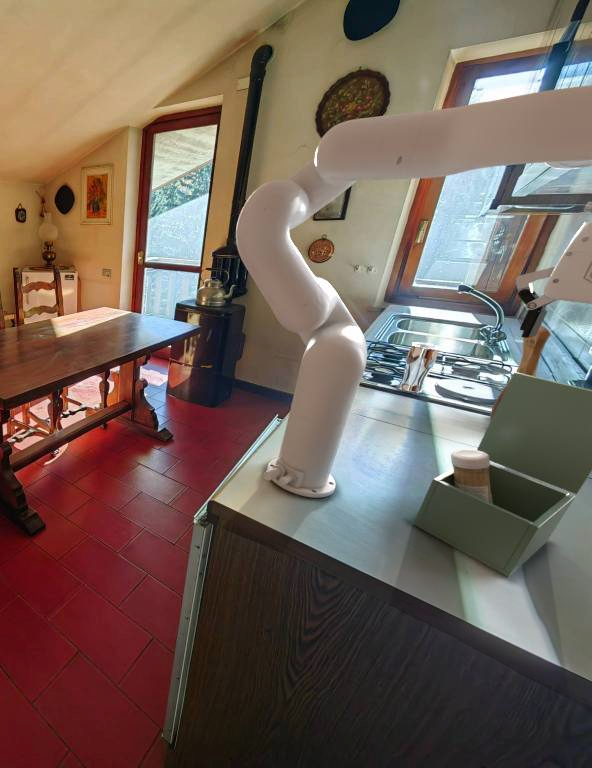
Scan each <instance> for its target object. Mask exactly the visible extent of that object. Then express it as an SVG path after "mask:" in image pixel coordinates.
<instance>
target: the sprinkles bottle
mask: <svg viewBox="0 0 592 768" xmlns="http://www.w3.org/2000/svg"><path fill="white" fill-rule="evenodd" d="M450 462H451V465H452V469H453V468H454V478H455V479H454V483H455V487H456V488H458V489H461V490H463V491H465V492H467V493H469V494H472V495H474V496H476V497H478V498H480V499H483V500H485V501H487V502H489V503H491V504H492V494H491V488H490V479H489V470H488V469H489V466H490V463H491V461H489V456H488V454H486V453H485V452H482V451H478V450H477V449H457V450H454V451H452V452H451V453H450Z"/></svg>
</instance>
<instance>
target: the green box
mask: <svg viewBox="0 0 592 768" xmlns="http://www.w3.org/2000/svg"><path fill="white" fill-rule="evenodd" d="M488 470H489V479H490V488H491V494H492V504H491V503H489V502H487V501H485V500H483V499H480V498H478V497H476V496H474V495H472V494H469V493H467V492H465V491H463V490H461V489H458V488H456V487H455V483H454V479H455V478H454V468H453V467H452V468H451V469H449V470H447V471H445V472H443V473H442V474H440V475H438V476H436V477H435V478H433V479H432V480H431V482H430V485H429V487H428V490H427V491H426V494H425V495H424V498H423V501H422V503H421V505H420V506H419V509H418V512H417V513H416V516H415V518H414V521H413V522H412V525H414V526H416V527H417V528H419V529H421V530H423V531H424V532H426V533H428V534H430V535H431V536H433V537H435V538H437V539H438V540H439V541H440V540H441V541H442V542H444V543H446V544H448V545H450V546H451V547H453V548H455V549H457V550H458V551H460V552H462V553H464V554H466V555H467V556H469V557H471V558H473V559H475V560H476V561H478V562H479V563H481V564H483V565H485V566H487V567H489V568H490V569H492V570H494V571H496V572H498V573H500V574H502V575H503V576H505V577H507V578H510V577H511V576H512V575H513V574H514V573H515V572H516V571H518V569H519V568H521V566H523V565H524V564H525V563H526V562H527V561H528V560H529V559H530V558H531V557H532V556H533V555H534V554H536V553H537V552H538V551H539V550H540V549H541V548H542V547H543V546H544V545H545V544H547V543H548V540H549V539H550V537H551V536H552V534H553V533H554V531H555V529H556V528H557V526H558V524H559V523H560V521H561V520H562V518H563V517H564V515H565V514H566V512H567V510H569V508H570V506H571V504H572V503H573V501H574V500H575V498H576V495H575V494H574V495H573V494H572V493H568V492H566V491H565V490H564V491H563V490H562V489H560V488H557V487H555V486H551V485H549V484H547V483H544V482H542V481H541V482H540V481H539V480H537V479H536V480H535V479H534V478H532V477H529V476H526V475H524V474H521V473H519V472H516V471H514V470H513V471H512V470H511V469H509V468H506V467H503V466H501V465H498V464H496V463H495V464H494V463H493V462H490V466H489V469H488Z"/></svg>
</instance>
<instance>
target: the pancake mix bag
mask: <svg viewBox="0 0 592 768" xmlns="http://www.w3.org/2000/svg"><path fill="white" fill-rule="evenodd" d="M523 332H524V331H523V330H522V333H523ZM551 336H552V334H551V332H550V331H549V329H548V328H546V327H545V326H544V325H542V324H541V326H540V328H539V330H538V332H537V334H536V335H535V336H532V337H528V338H524V337H522V339H523V340H522V356H521V359H520V363H519V366H518V367H517V369H516V371H515V372H518V373H522V374H526V375H530V376H535V377H537V370H538V367H539V362H540V359H541V356H542V353H543V351H544V348H545V346H546V344H547V342H548V340H549V339H550V338H551ZM510 380H511V378H510V379H509V380H508V382H507V383H506V384H505V386H504V387H503V389H502V390H501V392H499V395H498V396H497V398H496V400H495V402H494V403H493V406H492V408H491V411H490V418H489V423H490V422H491V420H492V418H493V416H494V413H495V411H496V409H497V407H498V405H499V403H500V401H501V399H502V397H503V395H504V393H505V391H506V389H507V386H508V384H509V382H510Z"/></svg>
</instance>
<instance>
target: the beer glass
mask: <svg viewBox="0 0 592 768" xmlns="http://www.w3.org/2000/svg"><path fill="white" fill-rule="evenodd" d="M439 351H440V347H439V346H438V345H434V344H431V343H425V342H424V343H423V342H412V343H411V346H410V348H409V350H408V353H407V355H406V359H405V362H404V369H403V376H402V378H401V381H400V382H399V384H398V385H397V389H398V390H400V391H402V392H405V393H409V394H416V395H417V394H421V393H422V392H423V386H424V385H423V384H424V381H425V380H426V378H427V377H428V375H429V374H430V372H431V370H432V369H433V368H434V365H435V363H436V360H437V358H438V354H439Z"/></svg>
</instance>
